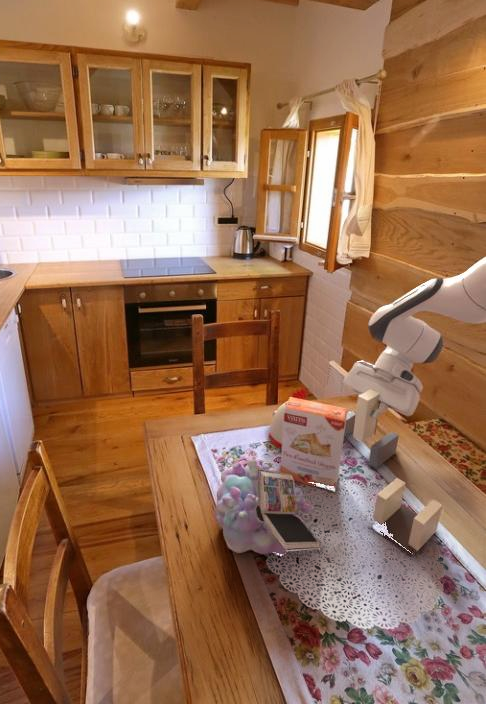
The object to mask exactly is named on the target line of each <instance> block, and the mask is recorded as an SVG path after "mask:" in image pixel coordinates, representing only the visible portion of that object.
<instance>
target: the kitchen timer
mask: <svg viewBox="0 0 486 704" xmlns="http://www.w3.org/2000/svg"><path fill="white" fill-rule="evenodd" d="M307 393H308V391H306V390H304V388H301V389H300V390H296V392H295V391H293V392H292V397H293V398H298V399H303V400H306V397H307ZM287 402H288V400H287V401H285V402H284V403H282V404H281V405H280V406H279V407H278V408H277V410H273V412H272V419H271V421H270V425H269V433H268V435H269V439H270V442H271V443H272V444H273V445H274V446H276V447H277V448H279V449H281V450H282V439H283V425H284V413H285V407H286V405H287Z"/></svg>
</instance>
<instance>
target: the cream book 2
mask: <svg viewBox="0 0 486 704" xmlns="http://www.w3.org/2000/svg"><path fill="white" fill-rule="evenodd" d="M443 507H444V505H443V503H440V502H439V501H437V500H435V499H432V500H431V501H429V503H428V504H427V505H425V506H424V508H423V509H422V510H421V511H420V512H419V513H417V516H416V517H415V518H414V520H413V525H412V530H411V534H410V539H409V543H408V544H409V545H410V546H411V547H413V548H414V549H416V550H417V552H419V550H420V549H421V548H422V547H423V546H424V545H425V543H427V542H428V540H430V538H432V536H433V535H435V533H436V532H437V530H438V527H439V523H440V518H441V515H442V510H443Z"/></svg>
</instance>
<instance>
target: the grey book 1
mask: <svg viewBox="0 0 486 704" xmlns="http://www.w3.org/2000/svg"><path fill="white" fill-rule="evenodd" d="M355 416H356V411H353V410H351V411H349V412H347V417H346V424H345V432H344V438H346V437H347V436H349V435H350V434H353V432H354V424H355Z"/></svg>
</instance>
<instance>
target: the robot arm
mask: <svg viewBox="0 0 486 704" xmlns="http://www.w3.org/2000/svg"><path fill="white" fill-rule="evenodd" d="M418 312H430V313H435V314H438V315H441V316H444V317H448V318H451V319H454V320H456V321H459V322H462V323H467V324H471V325H472V324H474V325H476V324H477V325H478V324H479V325H480V324H484V323H486V256H485V257H483V258H481V259H480V260H479V261H477V262H476V263H474V264H472V266H471V267H470V268H468V269H467V270H466V271H464V272H463V273H461V274H458V275H455V276H451V277H444V278H432V279H430V280H428V281H426V282H424V283H422V284H421V285H419V286H417V287H415V288H414V289H412V290H410V291H408V292H407V293H406V294H403V295H401V296H400V297H399V298H397V299H396V300H394V301H392V302H390V303H388V304H385V305H382V306H380V307H379V308H378V309H377V310H376V311H375V312H374V313H373V314H372V315H371V317H370V319H369V321H368V323H367V328H368V332H369V334H370V338H371V339H374V340H375V341H377V342H380V343H383V344H384V345H385V346H386V348H385V349H384V350H383V351H381V353H380V355H379V356H378V358H377V359H376V361H375V363H374V364H373V363H370V362H368V361H365V360H359V361H356V362H354V363H353V366H352V367H351V369H350V370H348V372H347V374H346V375H345V377H344V378H343V380H342V382H343V386H344V387H345V388H346V389H348V390H350V391H352V392H355V393H356V394H358V395H357V397H358V396H359V395H361V394H363V393H365V392H366V391H368V390H370V389H371V390H373V391H375V392H377V393H380V395H379V397H378V399H377V400H378V401H380V407H379V409H377V410H376V411H374V410H372V412H371V414H370V416H371V417H372V418H374V419H377V418H379V417H380V415H382V414H384V413H385V412H387V411H388V410H389V409H391V410H393V411H395V412H397V413H399V414H402V415H404V416H406V417H411V416H413V415H414V414H415V412H416V410H417V408H418V405H419V404H420V403H419V402H420V399H421V396H420V393H422V391H423V389H424V386H423V384H422V381H421V380H420V379H419V377H418V376H417V375H415V374H414V373H412V369H413V365H414V364H415V363H416V364H417V365H423V364H424V365H425V364H430V363H431V364H432V363H434V362H435V361H436V360H437V359H438V357H439V356H440V354H441V352H442V350H443V348H444V338H443V335H442V334H441V332H439V331H438V330H436V329H434V328H433V327H431V326H430V325H429V324H428V323H427V322H426V321H424V320H422V319H419V318H416V317H414V316H412V315H415V314H416V313H418ZM355 409H357V405H356V406H355Z"/></svg>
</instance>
